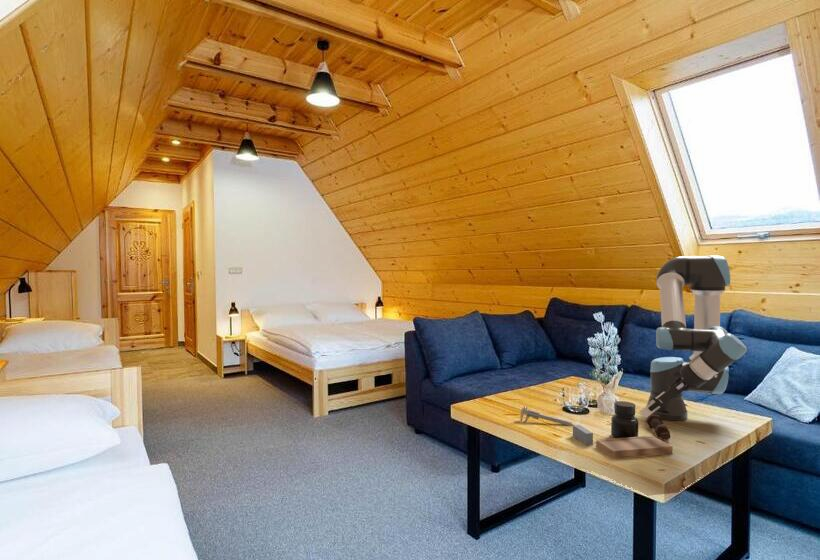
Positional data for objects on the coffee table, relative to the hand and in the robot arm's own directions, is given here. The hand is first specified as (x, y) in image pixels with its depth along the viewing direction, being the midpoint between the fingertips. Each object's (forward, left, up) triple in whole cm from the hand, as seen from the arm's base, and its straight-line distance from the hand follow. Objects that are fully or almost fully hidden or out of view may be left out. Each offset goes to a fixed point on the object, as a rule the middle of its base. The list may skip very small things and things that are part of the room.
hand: (647, 410), depth 164 cm
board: (+8, +5, -12) cm, 15 cm away
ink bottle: (+4, -7, -12) cm, 14 cm away
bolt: (-10, -7, -12) cm, 17 cm away
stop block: (+20, -7, -12) cm, 24 cm away
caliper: (+24, -26, -12) cm, 38 cm away
